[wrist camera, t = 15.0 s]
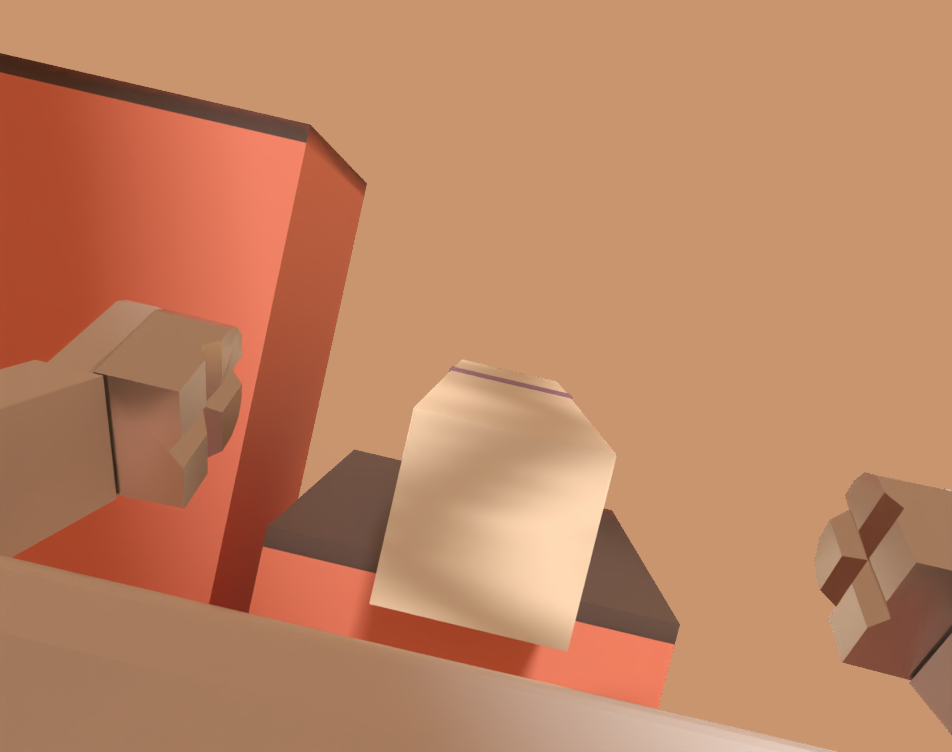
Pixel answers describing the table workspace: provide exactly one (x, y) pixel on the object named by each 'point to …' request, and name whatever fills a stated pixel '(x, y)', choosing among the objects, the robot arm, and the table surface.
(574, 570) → the box
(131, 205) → the stand
